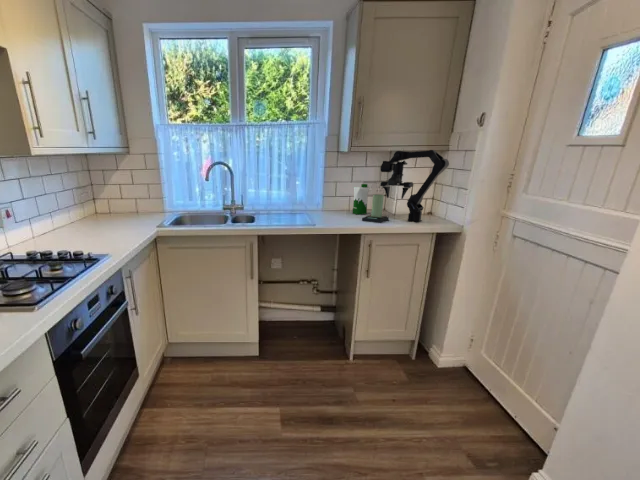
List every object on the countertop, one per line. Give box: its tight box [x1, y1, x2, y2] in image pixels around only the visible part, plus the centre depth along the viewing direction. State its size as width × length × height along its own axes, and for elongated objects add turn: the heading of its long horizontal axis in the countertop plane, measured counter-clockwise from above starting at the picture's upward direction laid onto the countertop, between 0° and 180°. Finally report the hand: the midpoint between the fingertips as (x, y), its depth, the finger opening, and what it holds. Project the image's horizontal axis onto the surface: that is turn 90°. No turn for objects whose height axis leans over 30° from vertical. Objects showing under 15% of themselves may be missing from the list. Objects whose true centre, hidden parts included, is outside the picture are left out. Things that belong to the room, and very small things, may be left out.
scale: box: [361, 214, 390, 224], centre depth 228 cm, size 12×12×3 cm
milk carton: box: [352, 183, 370, 216], centre depth 251 cm, size 9×9×20 cm
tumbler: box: [370, 194, 385, 217], centre depth 226 cm, size 6×6×13 cm
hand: (394, 198), depth 228 cm, fingers open, 9 cm apart
